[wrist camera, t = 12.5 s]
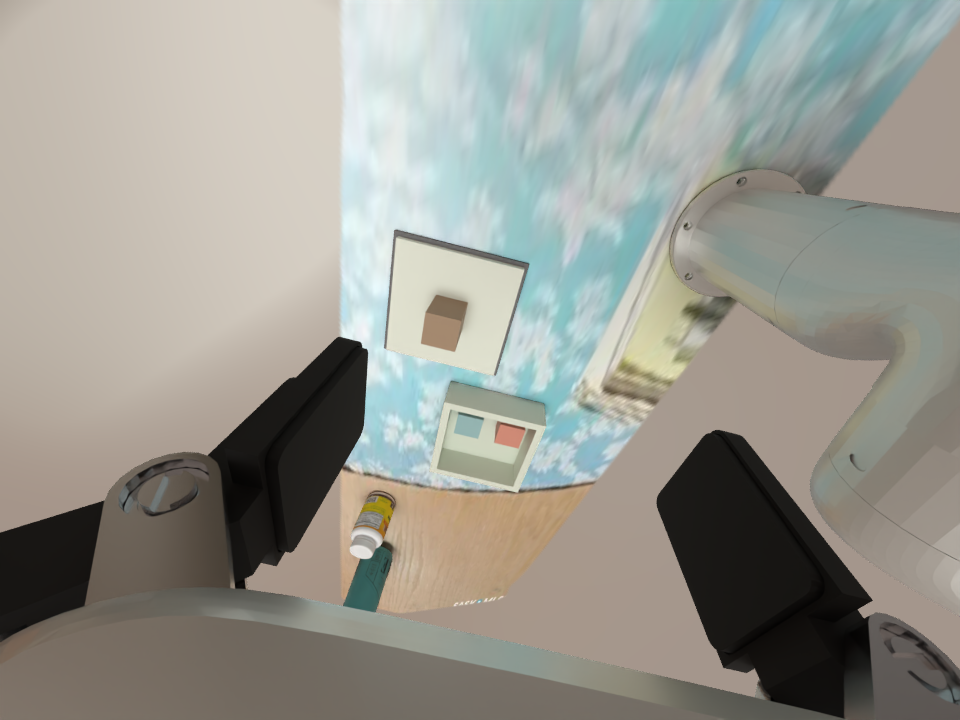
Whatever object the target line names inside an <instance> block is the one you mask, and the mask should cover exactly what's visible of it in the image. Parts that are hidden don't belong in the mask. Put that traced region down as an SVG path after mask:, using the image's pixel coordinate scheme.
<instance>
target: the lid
mask: <svg viewBox="0 0 960 720" xmlns="http://www.w3.org/2000/svg"><path fill="white" fill-rule="evenodd" d="M523 273H524V267H520V266H516V265H512V264H508V263H504V262H500V261H496V260H492V259H488V258H484V257H480V256H476V255H472V254H468V253H464V252H460V251H456V250H452V249H448V248H444V247H440V246H436V245H432V244H428V243H424V242H420V241H416V240H412V239H408V238H405V237H401V236H398V237H397V238H396V244H395V256H394V267H393V279H392V290H391V301H390V313H389V324H388V336H387V347H386V350H389V351H394V352H398V353H402V354H406V355H410V356H414V357H418V358H422V359H426V360H430V361H435V362H439V363H443V364H447V365H451V366H455V367H459V368H463V369H467V370H472V371H476V372H480V373H484V374H488V375H492V376H494V372H495V369H496V366H497V362H498V359H499V355H500V352H501V348H502V345H503V342H504V338H505V335H506V331H507V328H508V325H509V321H510V318H511V314H512V311H513V308H514V304H515V301H516V297H517V294H518V290H519V287H520V284H521V280H522V277H523Z"/></svg>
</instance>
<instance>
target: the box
mask: <svg viewBox="0 0 960 720" xmlns="http://www.w3.org/2000/svg"><path fill="white" fill-rule="evenodd" d="M459 412H463V413H467V414H471V415H475V416H479V417H484V421H483V424H482V427H481V431H480V434H479V437H478V439H476V438H472V437H468V436H464V435H460V434H455V433H454V430H455V426H456V422H457V418H458V413H459ZM497 421H500V422H504V423H508V424H512V425H517V426H521V427H525V429H526V431H525V433H524V436H523V438H522V441H521V443H520V446H519V448H514V447H509V446H505V445H501V444H497V443H494V440H495V429H496V424H497ZM545 428H546V419H545V408H544V404H543V403H539V402H535V401H531V400H527V399H523V398H519V397H515V396H511V395H506V394H502V393H498V392H494V391H490V390H486V389H482V388H478V387H474V386H470V385H466V384H461V383H457V382H453V381H451V382H450V385H449V389H448V392H447V395H446V398H445V401H444V406H443V411H442V415H441V420H440V425H439V429H438V434H437V439H436V443H435V448H434V453H433V457H432V462H431V467H430V471H429V472H433V473H437V474H442V475H446V476H450V477H454V478H459V479H463V480H467V481H471V482H475V483H480V484H484V485H488V486H492V487H497V488H501V489H505V490H509V491H513V492H518V490H519V488H520V486H521V483H522V481H523V479H524V477H525V474H526V472H527V470H528V467H529V465H530V463H531V460H532V458H533V456H534V454H535V451H536V449H537V447H538V444H539V442H540V440H541V438H542V435H543V433H544V431H545Z"/></svg>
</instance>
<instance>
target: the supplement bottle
mask: <svg viewBox="0 0 960 720" xmlns="http://www.w3.org/2000/svg"><path fill="white" fill-rule="evenodd" d="M394 508H395V501H394V499H393V498H392V497H391V496H390V495H388V494H386V493H383V492H374V493H371V494H370V495H369V496H368V497H367V499H366V501H365V504H364V506H363V508H362V510H361V513H360V515H359V517H358V519H357V522H356V524H355V526H354V528H353V530H352V533H351V539H352V541H353V542H352V544H351V547H350V552H351V554H352V555H354V556H355V557H358V558H361V559H369V558H371V557H372V556H373V553H374V551H375V549H376V548H378V547H380V545H381V544H382V542H383V539H384V536H385V534H386V531H387V528H388V525H389V522H390V520H391V517H392V514H393V511H394Z"/></svg>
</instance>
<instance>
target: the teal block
mask: <svg viewBox="0 0 960 720" xmlns="http://www.w3.org/2000/svg"><path fill="white" fill-rule="evenodd" d="M483 421H484V417H479V416H475V415H471V414H467V413H463V412H459V413H458V418H457V422H456V426H455V430H454V433H455V434H460V435H464V436H468V437H472V438H476V439H478V437H479V434H480V431H481V427H482V424H483Z"/></svg>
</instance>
